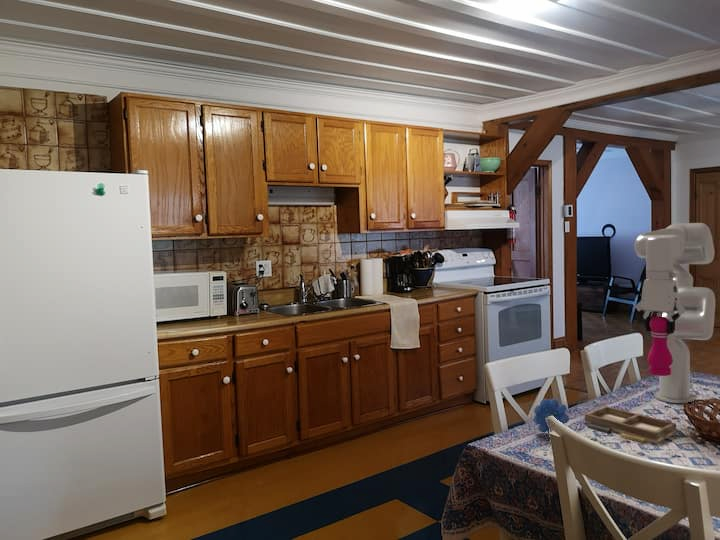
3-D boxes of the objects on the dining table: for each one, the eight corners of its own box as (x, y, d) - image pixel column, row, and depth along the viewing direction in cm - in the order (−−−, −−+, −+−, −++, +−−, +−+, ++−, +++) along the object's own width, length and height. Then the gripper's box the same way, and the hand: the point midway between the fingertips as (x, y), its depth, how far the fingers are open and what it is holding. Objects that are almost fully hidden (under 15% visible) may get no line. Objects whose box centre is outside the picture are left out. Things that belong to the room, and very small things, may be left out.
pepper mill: (672, 377, 177) (672, 314, 175) (646, 375, 181) (645, 313, 179) (673, 371, 183) (673, 310, 181) (648, 369, 187) (648, 309, 185)
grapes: (575, 435, 174) (575, 397, 173) (565, 442, 170) (564, 403, 169) (541, 427, 183) (540, 390, 182) (530, 433, 178) (529, 395, 177)
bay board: (605, 414, 191) (605, 405, 191) (676, 433, 173) (676, 423, 172) (580, 425, 183) (580, 416, 183) (651, 445, 164) (651, 435, 164)
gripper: (694, 276, 174) (694, 333, 176) (638, 273, 188) (639, 327, 190) (682, 278, 170) (682, 337, 172) (626, 275, 184) (627, 330, 186)
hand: (659, 331), depth 181 cm, fingers closed on pepper mill, 6 cm apart
